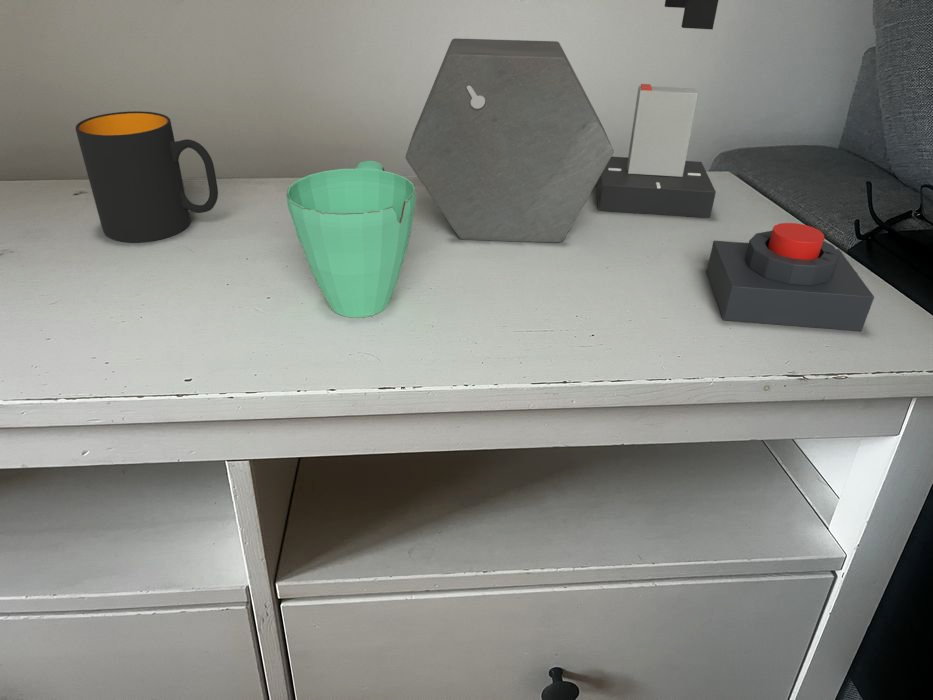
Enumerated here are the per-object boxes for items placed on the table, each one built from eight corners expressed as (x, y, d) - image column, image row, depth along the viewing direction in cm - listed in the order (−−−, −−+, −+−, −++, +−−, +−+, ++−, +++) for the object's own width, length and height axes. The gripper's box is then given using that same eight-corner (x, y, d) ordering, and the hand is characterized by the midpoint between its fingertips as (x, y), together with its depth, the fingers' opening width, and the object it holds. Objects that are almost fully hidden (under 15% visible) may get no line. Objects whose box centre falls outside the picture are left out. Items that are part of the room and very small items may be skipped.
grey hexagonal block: (627, 172, 76) (530, -14, 66) (639, 199, 69) (533, -3, 60) (488, 249, 81) (381, 87, 72) (488, 281, 74) (370, 107, 65)
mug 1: (210, 245, 70) (190, 138, 64) (87, 241, 70) (57, 134, 64) (236, 212, 76) (220, 113, 71) (125, 208, 77) (100, 109, 71)
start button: (810, 243, 62) (816, 224, 61) (824, 263, 58) (831, 243, 58) (763, 240, 62) (768, 221, 61) (773, 260, 59) (779, 240, 58)
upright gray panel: (680, 170, 82) (695, 86, 77) (682, 177, 80) (698, 91, 75) (626, 167, 82) (638, 83, 77) (627, 173, 81) (640, 88, 76)
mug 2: (411, 335, 56) (408, 216, 51) (287, 331, 57) (271, 211, 51) (427, 255, 69) (426, 151, 63) (324, 251, 69) (315, 148, 64)
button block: (828, 280, 66) (845, 230, 63) (861, 331, 59) (882, 276, 56) (706, 272, 67) (717, 221, 64) (723, 320, 60) (737, 266, 57)
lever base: (696, 185, 87) (701, 160, 85) (710, 218, 78) (716, 190, 76) (596, 179, 88) (599, 154, 86) (598, 211, 79) (602, 183, 77)
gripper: (672, -240, 71) (637, -2, 82) (717, -292, 50) (662, 36, 62) (750, -238, 70) (704, 1, 82) (828, -290, 49) (752, 41, 61)
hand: (686, 17), depth 72 cm, fingers open, 13 cm apart
